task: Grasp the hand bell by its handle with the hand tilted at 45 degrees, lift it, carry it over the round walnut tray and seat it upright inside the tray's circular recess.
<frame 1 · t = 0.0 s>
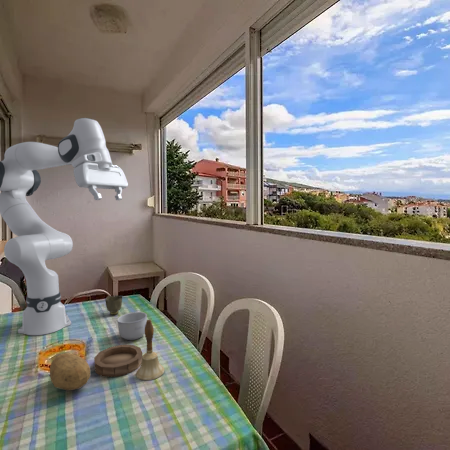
hand: (109, 199, 104), 52 cm above the table, tool tilted 20°, fingers open, 8 cm apart
teacup: (134, 335, 116), on the table
cup: (114, 314, 138), on the table
tray: (118, 364, 94), on the table
potato: (71, 387, 83), on the table
hand bell: (150, 373, 90), on the table
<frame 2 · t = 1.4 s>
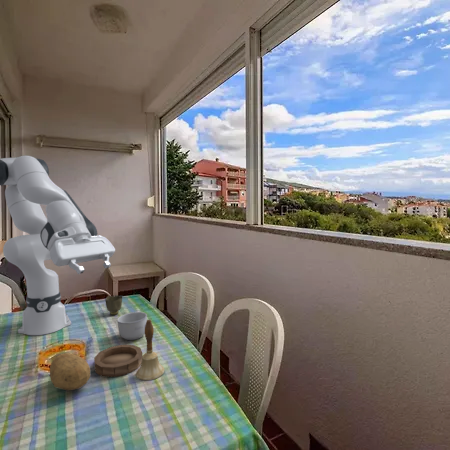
hand: (95, 269, 96), 30 cm above the table, tool tilted 45°, fingers open, 8 cm apart
nothing on the table moved.
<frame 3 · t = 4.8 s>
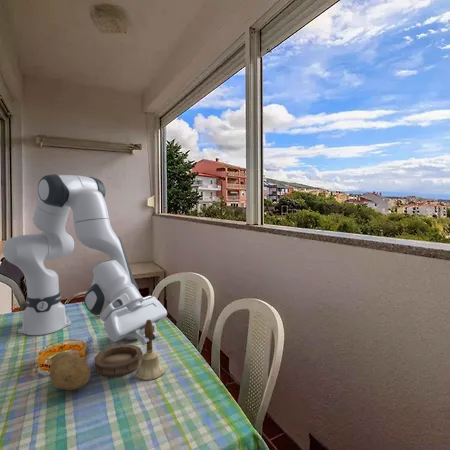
hand: (151, 340, 89), 10 cm above the table, tool tilted 45°, fingers closed on hand bell, 2 cm apart
hand bell: (150, 373, 90), on the table, touching gripper
everything else where it was.
when the fingers open (12 cm above the table, at t = 9.6 s): hand bell drops 1 cm, resting on tray.
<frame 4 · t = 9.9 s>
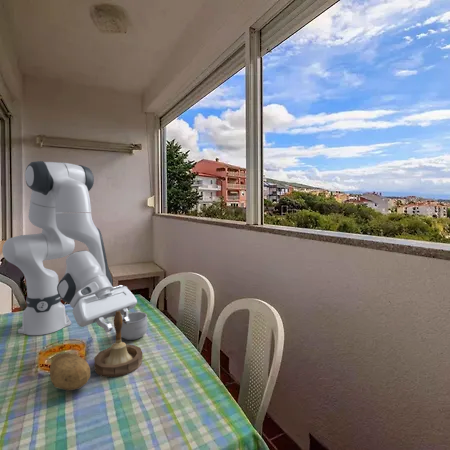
hand: (118, 326, 93), 12 cm above the table, tool tilted 45°, fingers open, 5 cm apart
hand bell: (118, 362, 94), point 1 cm above the table, touching tray
everything else where it was.
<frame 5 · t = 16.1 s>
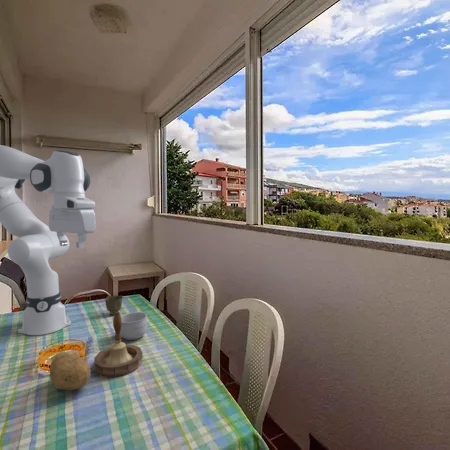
hand: (71, 246, 95), 37 cm above the table, tool pointing down, fingers open, 8 cm apart
nothing on the table moved.
at the end: hand bell inside the target area on the tray (0.4 cm from its centre), point 0.8 cm above the tray's base; hand bell tilted 0°; the gripper is holding nothing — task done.
